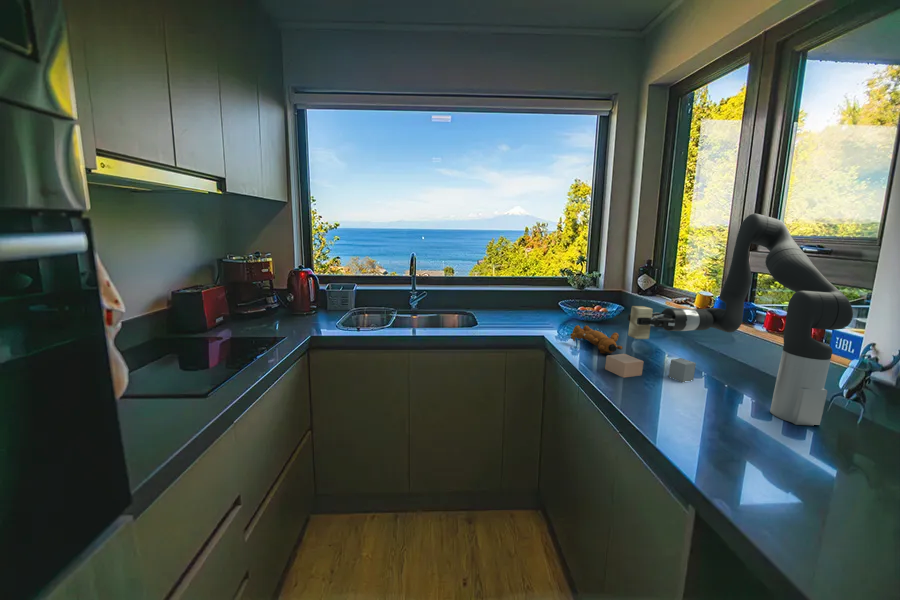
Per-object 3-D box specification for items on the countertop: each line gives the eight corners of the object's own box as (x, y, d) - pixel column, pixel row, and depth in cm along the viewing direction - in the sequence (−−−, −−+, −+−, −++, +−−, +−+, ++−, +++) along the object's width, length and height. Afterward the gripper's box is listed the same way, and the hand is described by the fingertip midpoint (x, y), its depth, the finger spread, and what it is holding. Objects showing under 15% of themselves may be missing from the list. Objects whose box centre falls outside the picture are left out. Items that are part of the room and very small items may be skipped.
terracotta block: (641, 375, 130) (643, 361, 129) (623, 378, 127) (625, 363, 126) (622, 367, 137) (624, 353, 136) (604, 369, 134) (606, 355, 133)
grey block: (693, 380, 127) (696, 363, 126) (682, 382, 125) (685, 364, 124) (678, 375, 131) (681, 358, 130) (668, 377, 129) (671, 359, 128)
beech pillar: (648, 339, 129) (652, 309, 127) (636, 339, 128) (640, 308, 126) (640, 335, 133) (644, 306, 131) (628, 335, 133) (631, 306, 131)
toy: (558, 338, 175) (587, 357, 146) (559, 322, 174) (588, 339, 145) (601, 339, 177) (638, 358, 147) (603, 324, 176) (640, 340, 146)
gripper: (666, 304, 138) (621, 303, 135) (697, 313, 124) (648, 312, 122) (663, 325, 140) (619, 325, 137) (694, 336, 126) (645, 336, 123)
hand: (633, 319), depth 129 cm, fingers closed on beech pillar, 4 cm apart
